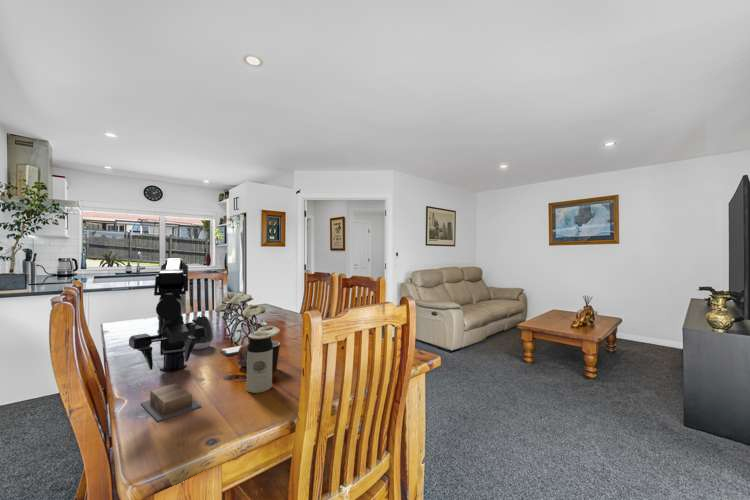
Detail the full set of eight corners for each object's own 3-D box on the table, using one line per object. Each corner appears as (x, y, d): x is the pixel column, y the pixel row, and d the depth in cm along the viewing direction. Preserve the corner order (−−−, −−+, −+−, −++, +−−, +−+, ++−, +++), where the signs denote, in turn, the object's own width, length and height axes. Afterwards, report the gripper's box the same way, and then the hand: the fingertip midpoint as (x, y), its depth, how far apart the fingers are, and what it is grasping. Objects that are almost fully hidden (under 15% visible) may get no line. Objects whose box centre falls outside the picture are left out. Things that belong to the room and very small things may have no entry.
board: (150, 390, 94) (164, 402, 86) (176, 382, 99) (192, 394, 92) (150, 401, 94) (164, 415, 86) (176, 393, 99) (191, 406, 91)
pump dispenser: (182, 350, 143) (183, 317, 143) (199, 344, 153) (200, 312, 153) (201, 352, 141) (202, 318, 141) (218, 345, 151) (218, 314, 151)
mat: (140, 404, 93) (140, 402, 93) (181, 391, 101) (181, 390, 101) (157, 422, 83) (157, 420, 83) (201, 406, 92) (201, 405, 92)
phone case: (254, 346, 153) (219, 352, 142) (254, 343, 153) (219, 349, 142) (262, 350, 147) (226, 357, 136) (262, 347, 147) (226, 353, 136)
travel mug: (251, 383, 109) (252, 331, 109) (274, 383, 109) (275, 331, 109) (242, 393, 101) (244, 337, 101) (268, 393, 101) (269, 337, 101)
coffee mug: (284, 367, 124) (284, 342, 124) (269, 375, 116) (270, 348, 116) (259, 364, 128) (260, 339, 128) (244, 371, 119) (245, 345, 119)
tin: (242, 369, 121) (243, 348, 121) (235, 369, 122) (235, 347, 122) (263, 357, 136) (264, 337, 136) (257, 356, 137) (257, 337, 137)
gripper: (140, 321, 82) (139, 382, 81) (214, 312, 96) (213, 363, 96) (129, 315, 89) (127, 371, 88) (199, 307, 103) (198, 355, 103)
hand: (169, 365), depth 94 cm, fingers open, 9 cm apart
